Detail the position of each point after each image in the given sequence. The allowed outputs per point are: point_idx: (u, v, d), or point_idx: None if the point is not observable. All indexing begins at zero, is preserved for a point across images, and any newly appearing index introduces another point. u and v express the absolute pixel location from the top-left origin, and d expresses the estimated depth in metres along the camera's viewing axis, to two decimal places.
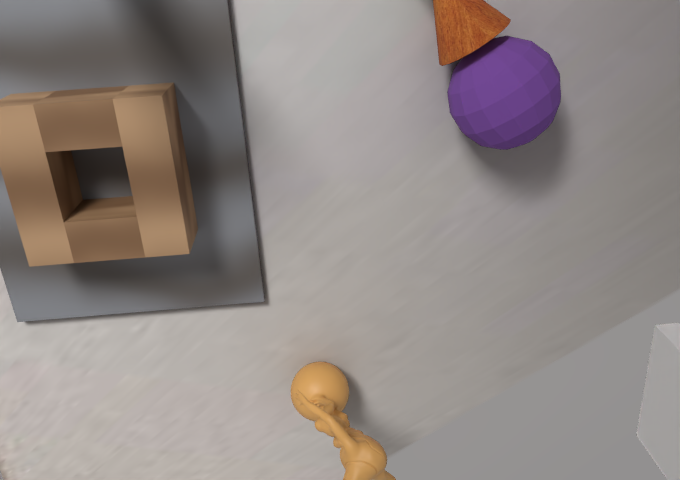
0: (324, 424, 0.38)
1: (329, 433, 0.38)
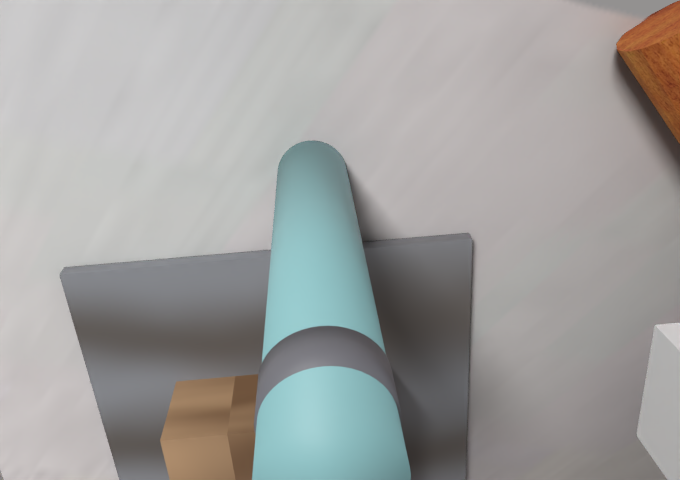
0: None
1: None
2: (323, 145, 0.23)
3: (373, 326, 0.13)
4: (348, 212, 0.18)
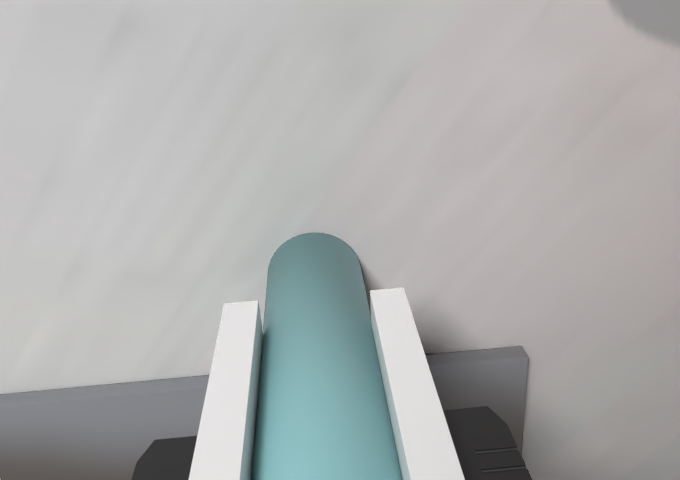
0: None
1: None
2: (329, 240, 0.17)
3: None
4: (371, 376, 0.12)
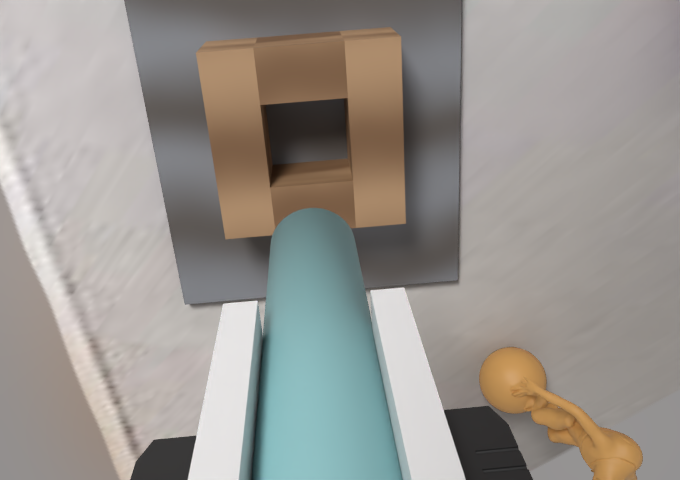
0: (547, 416, 0.34)
1: (555, 426, 0.33)
2: (327, 214, 0.19)
3: None
4: (362, 323, 0.14)
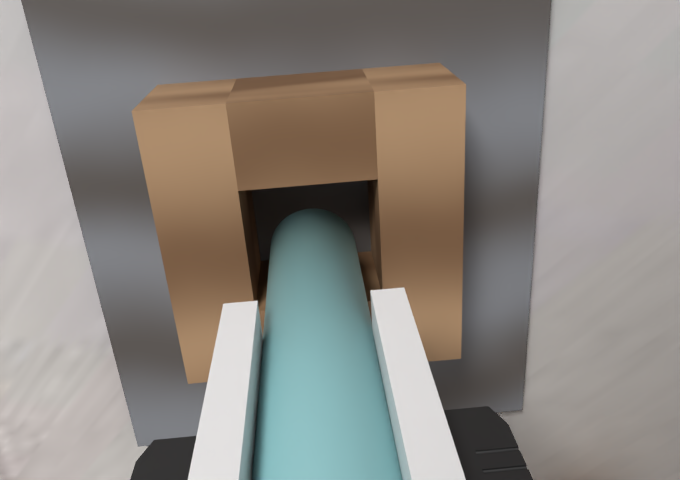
0: None
1: None
2: (327, 215, 0.19)
3: None
4: (362, 324, 0.14)
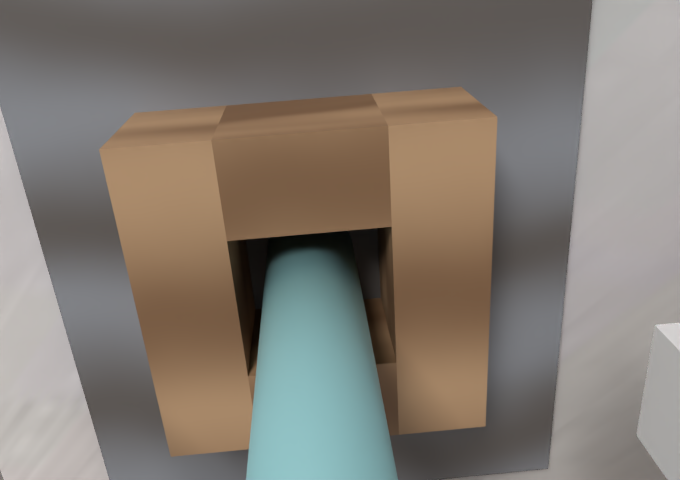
0: None
1: None
2: None
3: None
4: (358, 327, 0.14)
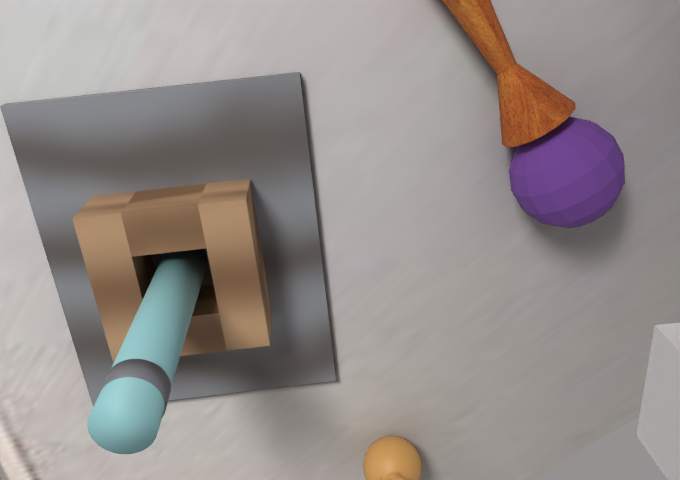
0: None
1: None
2: None
3: (164, 358, 0.27)
4: (183, 292, 0.32)
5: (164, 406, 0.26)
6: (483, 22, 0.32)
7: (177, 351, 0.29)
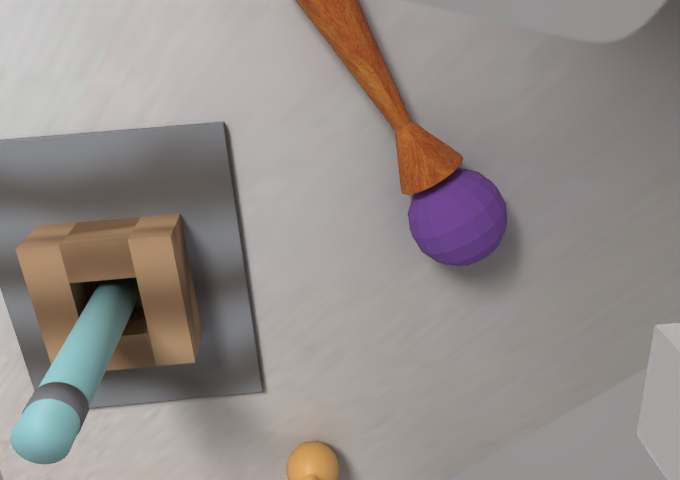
0: None
1: None
2: None
3: (84, 380, 0.31)
4: (112, 317, 0.37)
5: (80, 423, 0.30)
6: (379, 86, 0.36)
7: (98, 373, 0.33)
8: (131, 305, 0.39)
